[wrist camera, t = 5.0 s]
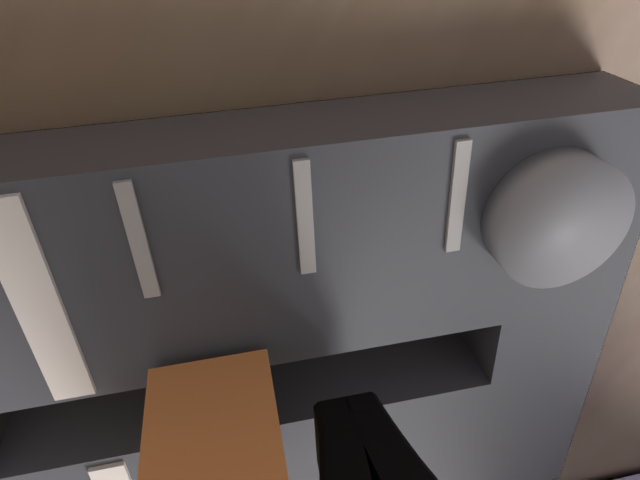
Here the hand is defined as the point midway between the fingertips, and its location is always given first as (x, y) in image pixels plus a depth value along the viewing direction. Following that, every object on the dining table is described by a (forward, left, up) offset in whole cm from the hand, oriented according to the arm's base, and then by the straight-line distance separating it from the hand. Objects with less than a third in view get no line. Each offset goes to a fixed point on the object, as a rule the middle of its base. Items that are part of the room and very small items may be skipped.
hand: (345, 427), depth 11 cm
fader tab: (+3, 0, -4) cm, 4 cm away
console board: (+2, 0, -4) cm, 4 cm away
